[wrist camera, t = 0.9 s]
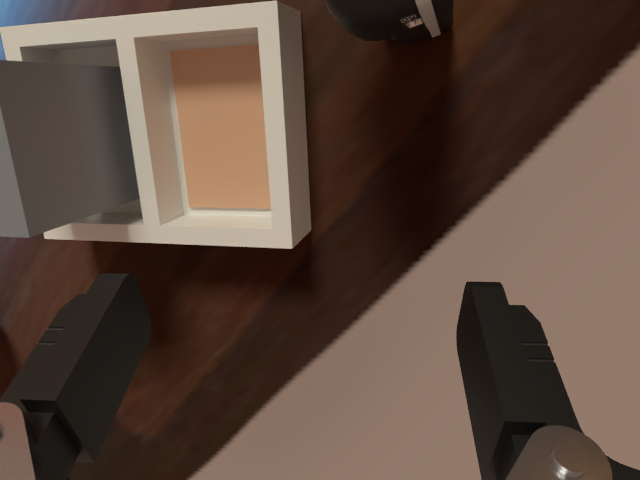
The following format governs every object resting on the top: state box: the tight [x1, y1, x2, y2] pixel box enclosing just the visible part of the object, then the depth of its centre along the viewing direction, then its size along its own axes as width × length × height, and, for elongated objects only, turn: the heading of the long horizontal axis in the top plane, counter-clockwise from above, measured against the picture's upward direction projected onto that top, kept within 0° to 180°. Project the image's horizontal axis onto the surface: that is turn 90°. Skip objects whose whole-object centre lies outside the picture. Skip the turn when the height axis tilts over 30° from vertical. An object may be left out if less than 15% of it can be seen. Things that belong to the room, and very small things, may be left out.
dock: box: [0, 1, 311, 249], centre depth 24 cm, size 11×15×10 cm
